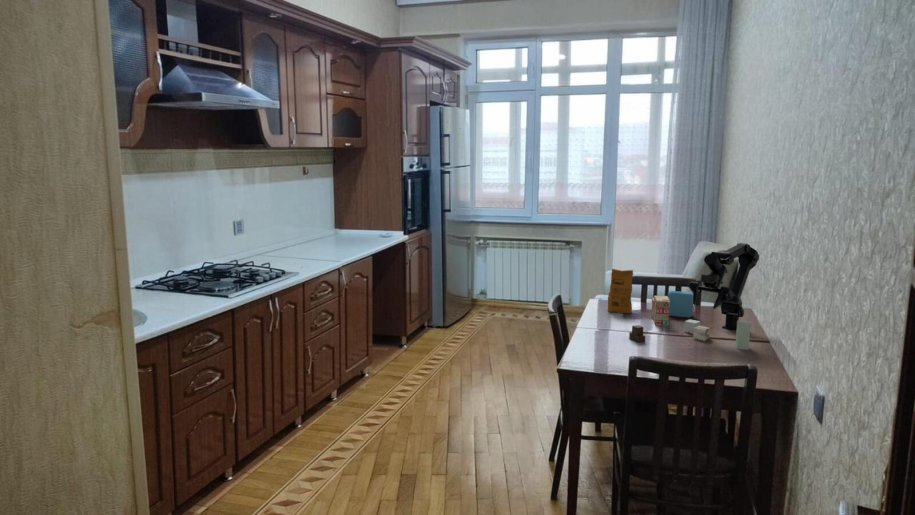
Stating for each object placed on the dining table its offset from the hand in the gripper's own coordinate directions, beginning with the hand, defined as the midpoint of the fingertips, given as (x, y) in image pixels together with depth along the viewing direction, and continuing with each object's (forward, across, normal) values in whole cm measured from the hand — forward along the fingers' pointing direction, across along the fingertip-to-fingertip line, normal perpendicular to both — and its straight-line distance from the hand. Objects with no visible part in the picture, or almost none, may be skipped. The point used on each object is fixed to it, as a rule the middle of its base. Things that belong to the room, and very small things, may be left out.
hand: (703, 306), depth 280 cm
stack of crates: (+26, -17, -9) cm, 32 cm away
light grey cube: (+7, -9, +15) cm, 19 cm away
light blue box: (-7, -28, +34) cm, 45 cm away
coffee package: (+2, -53, +21) cm, 57 cm away
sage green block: (+11, +18, +9) cm, 23 cm away
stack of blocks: (+3, -29, +20) cm, 36 cm away
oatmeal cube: (+12, 0, +9) cm, 15 cm away
